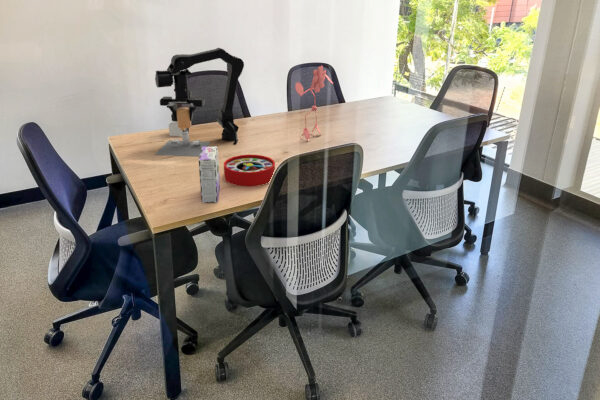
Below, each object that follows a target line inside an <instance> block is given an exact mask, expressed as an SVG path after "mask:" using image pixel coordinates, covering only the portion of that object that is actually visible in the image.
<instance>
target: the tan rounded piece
mask: <svg viewBox="0 0 600 400" xmlns="http://www.w3.org/2000/svg"><path fill="white" fill-rule="evenodd" d="M176 110H177V122H178V127H179V128H180V130H185V129H186V128H189V129H190V128H191V127H192V121H190V114H189V107H186V106H181V107H178V108H177V109H176Z"/></svg>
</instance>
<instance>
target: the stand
mask: <svg viewBox="0 0 600 400" xmlns="http://www.w3.org/2000/svg"><path fill="white" fill-rule="evenodd" d="M181 138H182V140H181V139H179V138H174V139H173V140H168V141H167V142H165V144H164V145H162V147H161V148H159V150H158V151H157V152H156V153H154V156H169V157H170V156H171V157H196V158H197V157H198V158H199V157H200V153H201V149H202V147H210V145H211V143H212V141H201V139H195V140H194V141H193V140H192V141H190V131H189V132H182V137H181Z"/></svg>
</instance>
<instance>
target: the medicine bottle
mask: <svg viewBox="0 0 600 400" xmlns="http://www.w3.org/2000/svg"><path fill="white" fill-rule="evenodd" d="M182 132H189V133H190V128H186V129H185V130H180V128H179V127H178V122H177V120H176V118H175V117H174V115H173V113H172V112H171V123H168V133H169V136H170V137H179V138H182Z"/></svg>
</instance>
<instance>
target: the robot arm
mask: <svg viewBox="0 0 600 400" xmlns="http://www.w3.org/2000/svg"><path fill="white" fill-rule="evenodd" d="M218 59H220V60H222V61H223V62H224V63H226V72H227V80H226V84H225V85H226V87H225V92H224V98H223V104H222V107H221V108H220V109H217V115H216V117H215V119H216V120H217V123H218V124H219V125H220V126H221V128H222V131H221V140H222V141H226V142H233V143H232V145H237V143H238V141H239V138H238V131H239V128H240V127H239V126H238V125H237V124H236V123H235V122H234V121H235V118H234V117H235V116H234V111H233V110H234V104H235V98H236V91H237V86H238V80H239V78H240V77H241V75H242V73H243V70H244V68H245V63H244V61H243V59H241V58H240V57H238V56H235V55H232V54H230V53H229V52H228V51H226V50H225V49H224V48H221V47H217V48H214V49H210V50H206V51H200V52H196V53H192V54H191V53H190V54H188V53H187V54H183V53H182V54H175V55H174V54H173V55H172V57H171V58H170V64H169V65H168V67H167V68H166V70H155V76H154V77H155V78H154V80H155V81H154V82H155V85H156V88H168V87H172V85H173V86H174V88H173V92H174V96H175V98H173V96H163V97H161V98H160V99H159V106H163V107H164V106H166V108H168V109H169V110H170V112H171V114H172V113H173V115H174V117H175V118H176V120H177V110H176V109H177V107H178V104H180V105H183V104H186V105H190V106H189V107H188V108H189V114H190V121H191V122H192V121H193V117H194V114H195V111H196V109H197V108H198V107H199V108H202V107H204V106H205V105H206V99H205V98H204V97H195V98H193V91H192V90H191V89H190V86H189V82H188V81H189V80H188V76H190V75H193V72H191V71H190V70H189V69H191V68H192V66H194V65H198V64H201V63H205V62H210V61H213V60H218Z"/></svg>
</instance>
